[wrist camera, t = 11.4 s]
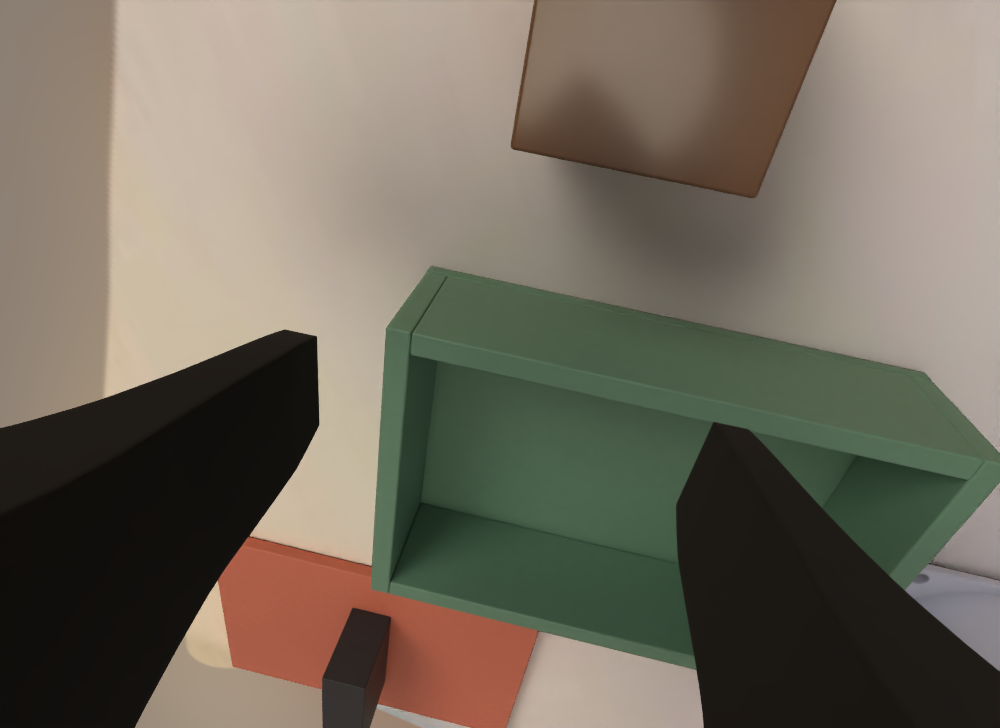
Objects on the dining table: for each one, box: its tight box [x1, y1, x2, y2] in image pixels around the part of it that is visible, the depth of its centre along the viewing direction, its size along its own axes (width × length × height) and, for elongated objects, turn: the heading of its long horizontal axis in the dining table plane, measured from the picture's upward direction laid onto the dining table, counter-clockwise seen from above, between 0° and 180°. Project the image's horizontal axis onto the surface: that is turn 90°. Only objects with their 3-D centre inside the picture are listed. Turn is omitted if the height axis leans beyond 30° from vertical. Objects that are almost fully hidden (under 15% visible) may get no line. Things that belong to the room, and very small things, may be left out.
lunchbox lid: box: [218, 537, 539, 728], centre depth 28 cm, size 16×11×4 cm
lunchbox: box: [371, 266, 1000, 670], centre depth 19 cm, size 16×11×4 cm
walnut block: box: [511, 0, 836, 198], centre depth 12 cm, size 5×5×5 cm
